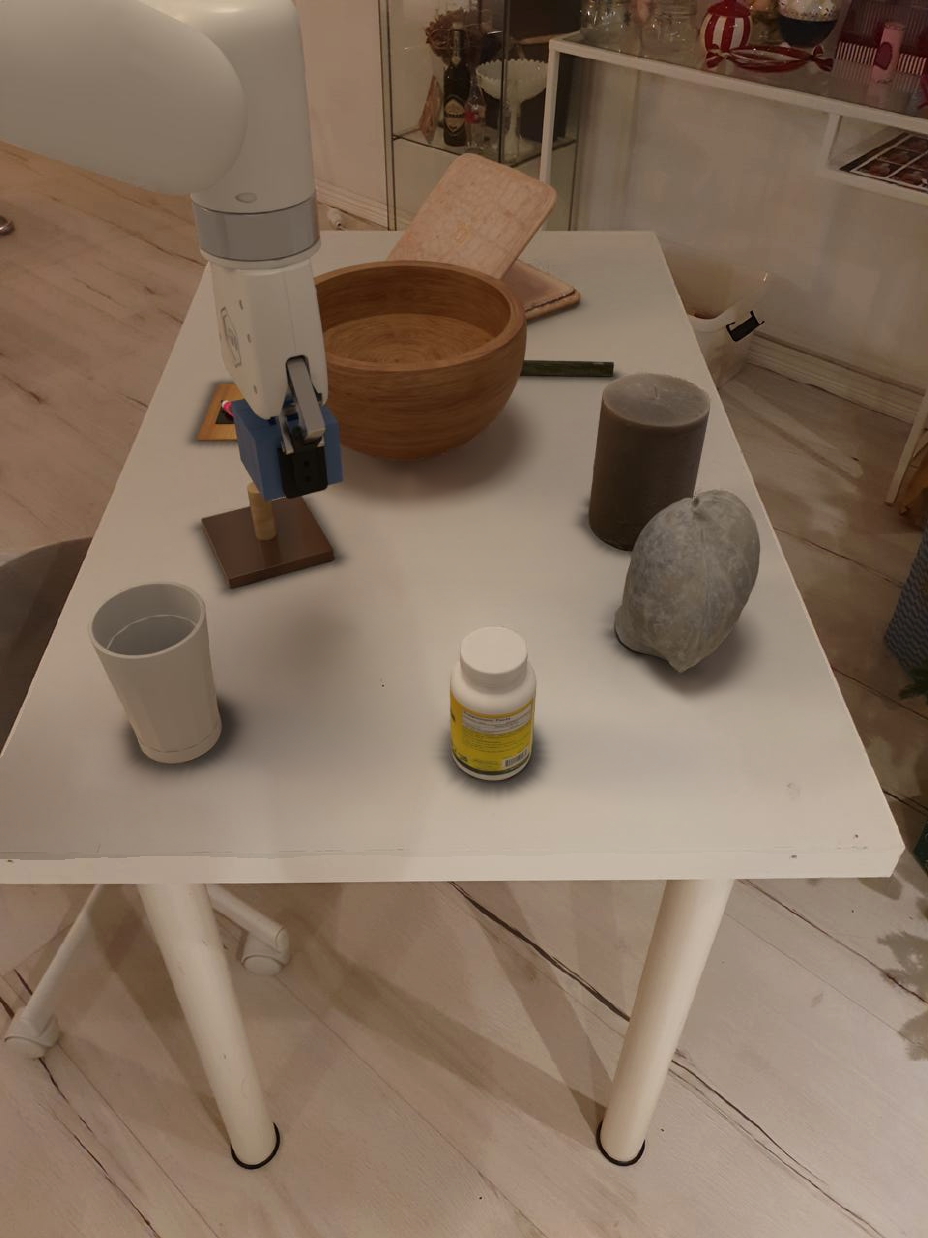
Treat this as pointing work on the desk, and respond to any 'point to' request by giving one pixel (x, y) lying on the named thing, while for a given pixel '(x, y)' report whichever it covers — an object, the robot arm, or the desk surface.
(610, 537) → the pillar candle
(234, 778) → the desk surface
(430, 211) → the case
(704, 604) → the decorative stone
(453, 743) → the pill bottle
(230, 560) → the dowel stand
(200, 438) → the board
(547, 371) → the rod
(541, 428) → the desk surface
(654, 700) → the desk surface
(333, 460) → the collar block
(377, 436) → the bowl
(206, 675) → the cup
